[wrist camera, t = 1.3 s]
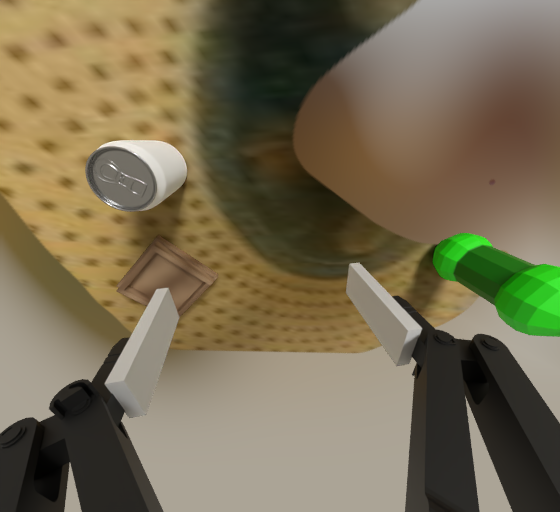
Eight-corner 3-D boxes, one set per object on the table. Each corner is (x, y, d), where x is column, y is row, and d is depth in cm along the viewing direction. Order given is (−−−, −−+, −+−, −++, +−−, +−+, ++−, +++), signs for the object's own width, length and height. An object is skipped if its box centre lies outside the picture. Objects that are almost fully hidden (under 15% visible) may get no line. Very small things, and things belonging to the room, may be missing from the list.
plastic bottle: (417, 274, 47) (570, 388, 25) (429, 228, 42) (633, 322, 20) (458, 267, 48) (639, 371, 27) (475, 222, 43) (715, 305, 22)
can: (147, 129, 28) (92, 122, 17) (196, 160, 30) (173, 170, 20) (129, 173, 30) (69, 191, 19) (176, 199, 32) (146, 228, 22)
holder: (119, 282, 37) (111, 291, 35) (158, 234, 34) (152, 241, 32) (180, 313, 42) (176, 323, 40) (218, 274, 39) (217, 282, 37)
